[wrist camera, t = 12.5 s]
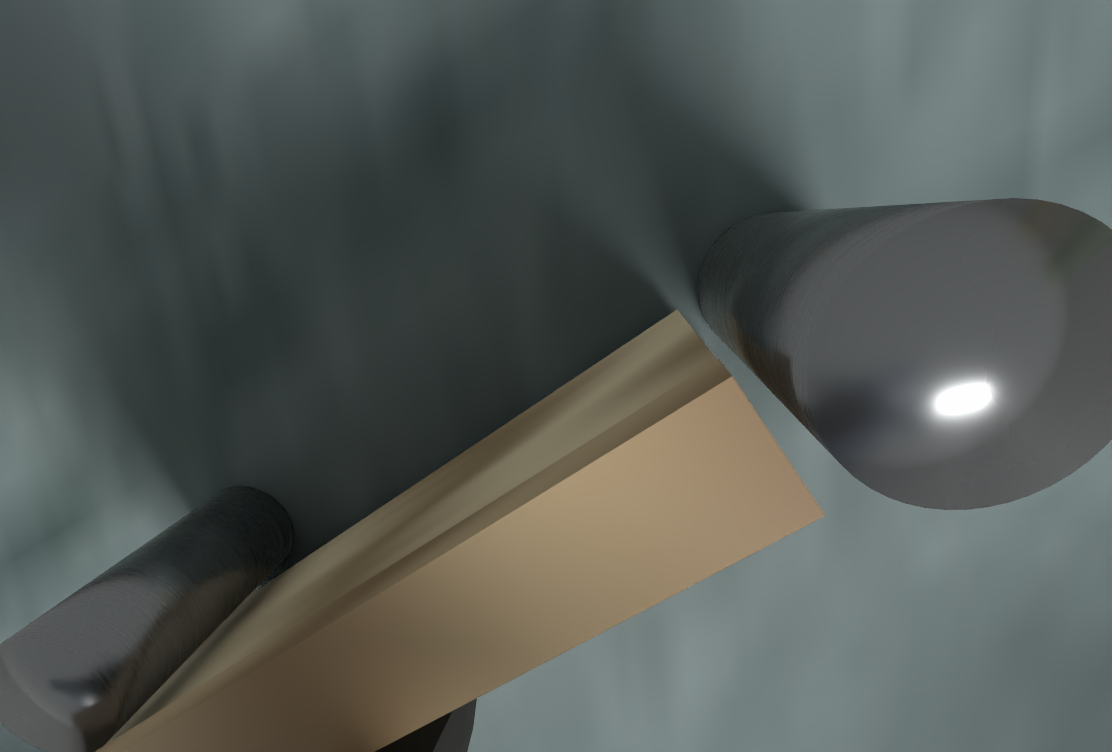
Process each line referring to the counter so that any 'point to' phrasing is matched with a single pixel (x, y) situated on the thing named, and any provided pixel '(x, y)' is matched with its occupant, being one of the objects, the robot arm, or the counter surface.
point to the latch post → (137, 623)
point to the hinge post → (928, 339)
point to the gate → (493, 562)
